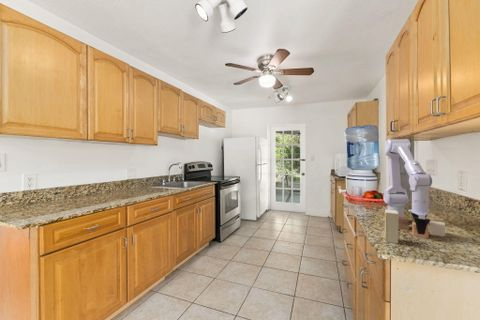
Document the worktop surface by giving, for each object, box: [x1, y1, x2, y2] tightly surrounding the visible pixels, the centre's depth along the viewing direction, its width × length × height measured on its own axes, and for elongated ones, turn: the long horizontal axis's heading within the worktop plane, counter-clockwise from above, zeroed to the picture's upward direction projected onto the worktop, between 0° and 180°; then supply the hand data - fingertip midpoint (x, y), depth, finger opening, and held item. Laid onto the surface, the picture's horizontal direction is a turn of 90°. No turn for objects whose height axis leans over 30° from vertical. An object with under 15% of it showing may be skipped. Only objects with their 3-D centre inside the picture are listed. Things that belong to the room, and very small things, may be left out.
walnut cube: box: [398, 216, 410, 231], centre depth 106 cm, size 5×5×5 cm
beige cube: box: [429, 220, 446, 237], centre depth 97 cm, size 5×5×5 cm
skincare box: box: [384, 209, 399, 245], centre depth 89 cm, size 6×4×12 cm
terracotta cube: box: [411, 221, 429, 239], centre depth 95 cm, size 5×5×5 cm
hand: (420, 231), depth 95 cm, fingers open, 7 cm apart
